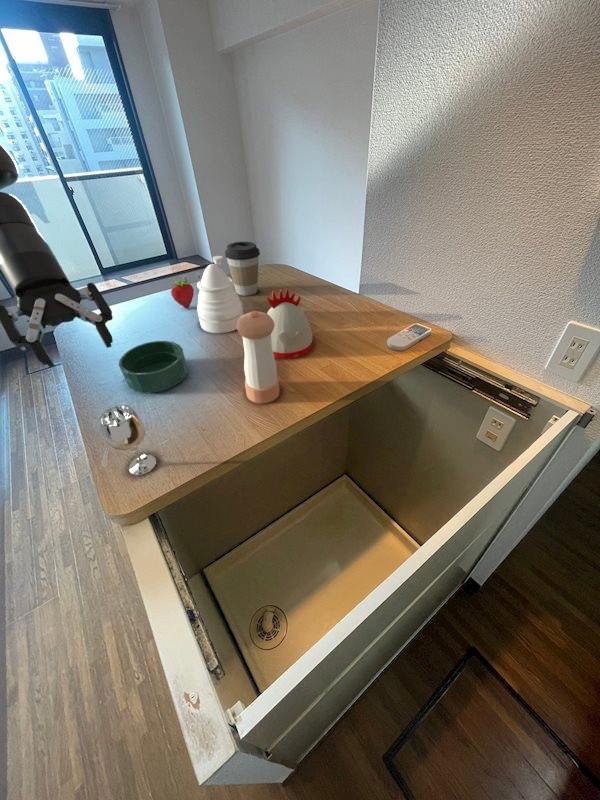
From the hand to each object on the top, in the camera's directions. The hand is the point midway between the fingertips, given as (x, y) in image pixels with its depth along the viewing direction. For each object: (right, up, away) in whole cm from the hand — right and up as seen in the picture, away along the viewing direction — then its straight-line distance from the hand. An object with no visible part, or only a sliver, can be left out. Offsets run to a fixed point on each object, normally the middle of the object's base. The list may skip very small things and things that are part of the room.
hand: (81, 355), depth 52 cm
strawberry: (-1, +22, +52) cm, 56 cm away
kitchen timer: (+31, +8, +35) cm, 47 cm away
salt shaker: (+27, -6, +20) cm, 34 cm away
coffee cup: (+17, +30, +61) cm, 70 cm away
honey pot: (+12, +16, +44) cm, 49 cm away
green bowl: (+2, -2, +24) cm, 25 cm away
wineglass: (+7, -19, +5) cm, 21 cm away
